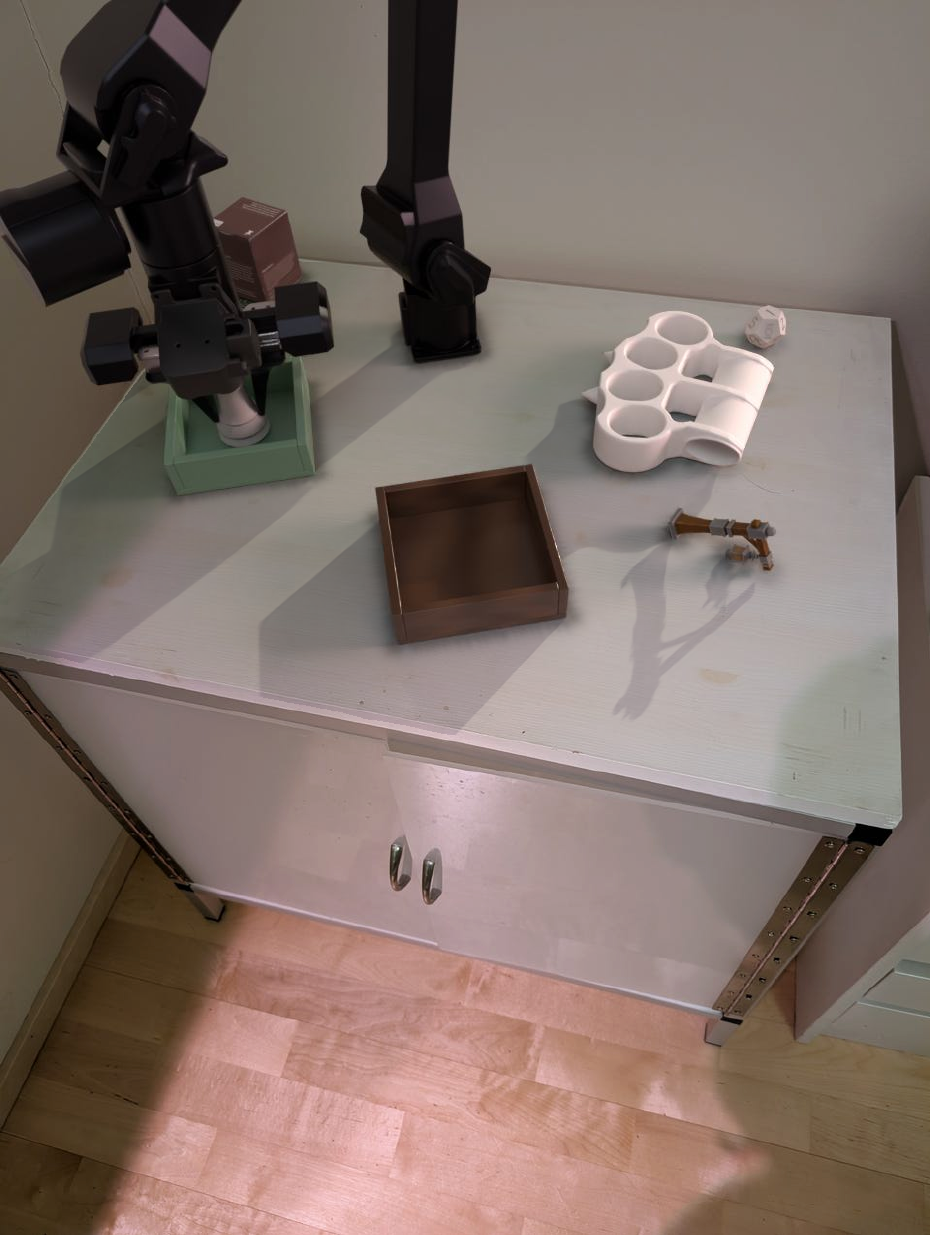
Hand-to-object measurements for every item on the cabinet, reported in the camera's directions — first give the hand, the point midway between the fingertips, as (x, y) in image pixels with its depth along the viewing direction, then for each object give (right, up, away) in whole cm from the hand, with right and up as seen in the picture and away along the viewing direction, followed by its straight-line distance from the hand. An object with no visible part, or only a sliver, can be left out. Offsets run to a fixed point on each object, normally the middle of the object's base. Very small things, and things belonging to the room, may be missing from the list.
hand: (239, 416), depth 72 cm
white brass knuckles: (+37, +1, +2) cm, 37 cm away
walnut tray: (+20, -13, -7) cm, 25 cm away
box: (-2, +17, +15) cm, 23 cm away
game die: (+47, +8, +6) cm, 48 cm away
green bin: (0, -1, +2) cm, 3 cm away
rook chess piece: (0, -1, +2) cm, 2 cm away
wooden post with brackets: (+39, -12, -8) cm, 41 cm away
